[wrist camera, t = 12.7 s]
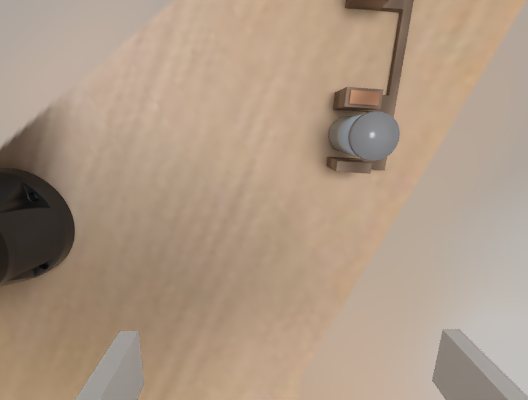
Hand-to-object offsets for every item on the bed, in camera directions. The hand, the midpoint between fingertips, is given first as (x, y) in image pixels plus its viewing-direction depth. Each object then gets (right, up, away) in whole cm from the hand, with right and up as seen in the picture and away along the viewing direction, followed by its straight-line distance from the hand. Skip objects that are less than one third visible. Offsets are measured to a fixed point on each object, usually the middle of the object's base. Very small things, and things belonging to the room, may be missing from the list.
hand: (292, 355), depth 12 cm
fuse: (+9, +15, +25) cm, 30 cm away
